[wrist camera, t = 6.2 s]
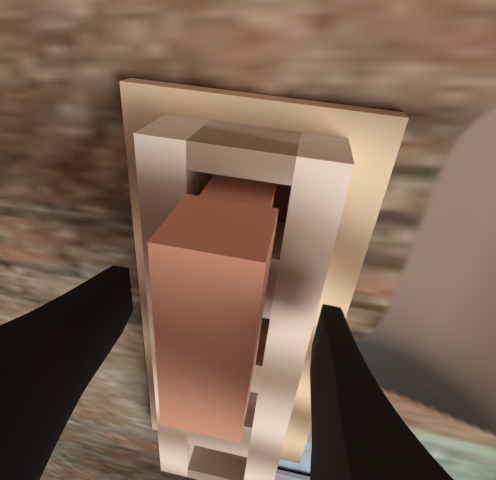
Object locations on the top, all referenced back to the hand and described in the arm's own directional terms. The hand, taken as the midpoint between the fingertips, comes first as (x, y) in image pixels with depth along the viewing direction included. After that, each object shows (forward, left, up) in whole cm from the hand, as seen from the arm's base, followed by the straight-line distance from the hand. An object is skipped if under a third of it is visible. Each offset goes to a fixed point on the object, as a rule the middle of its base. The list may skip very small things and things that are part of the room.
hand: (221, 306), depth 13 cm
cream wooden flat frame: (-6, 0, -5) cm, 8 cm away
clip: (0, 0, -4) cm, 4 cm away
